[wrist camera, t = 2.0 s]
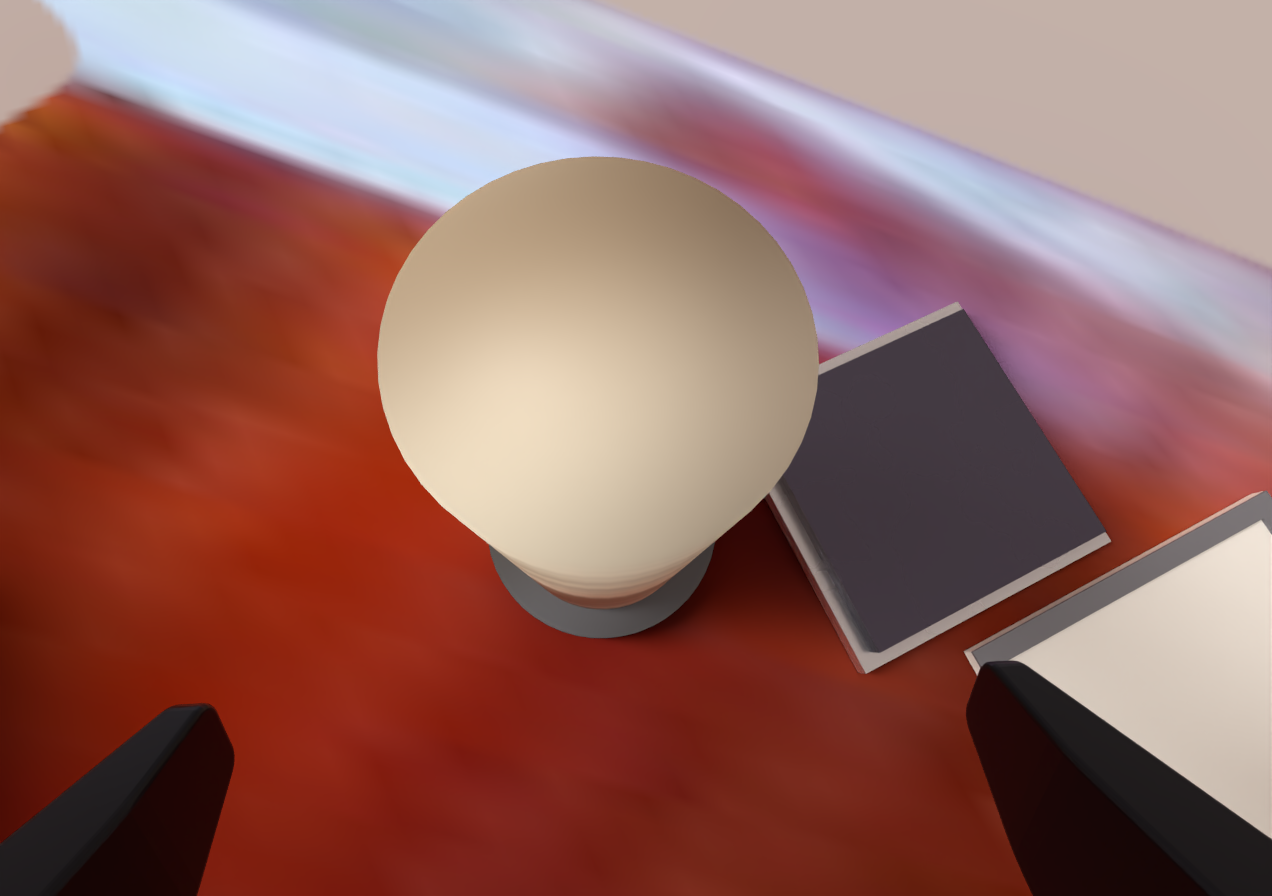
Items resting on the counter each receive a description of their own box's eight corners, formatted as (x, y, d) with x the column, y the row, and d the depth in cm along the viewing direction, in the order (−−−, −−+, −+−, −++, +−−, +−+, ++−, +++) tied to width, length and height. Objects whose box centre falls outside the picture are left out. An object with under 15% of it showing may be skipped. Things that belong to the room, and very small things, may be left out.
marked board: (1492, 839, 18) (1516, 844, 18) (1190, 1048, 17) (1207, 1060, 16) (1250, 493, 21) (1266, 490, 20) (963, 651, 19) (972, 651, 19)
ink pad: (1096, 544, 20) (1126, 538, 19) (858, 672, 19) (874, 675, 18) (947, 310, 22) (967, 292, 21) (720, 414, 20) (727, 401, 19)
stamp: (747, 577, 19) (993, 479, 7) (547, 677, 18) (438, 760, 6) (651, 391, 21) (721, 38, 8) (460, 476, 20) (229, 217, 8)
